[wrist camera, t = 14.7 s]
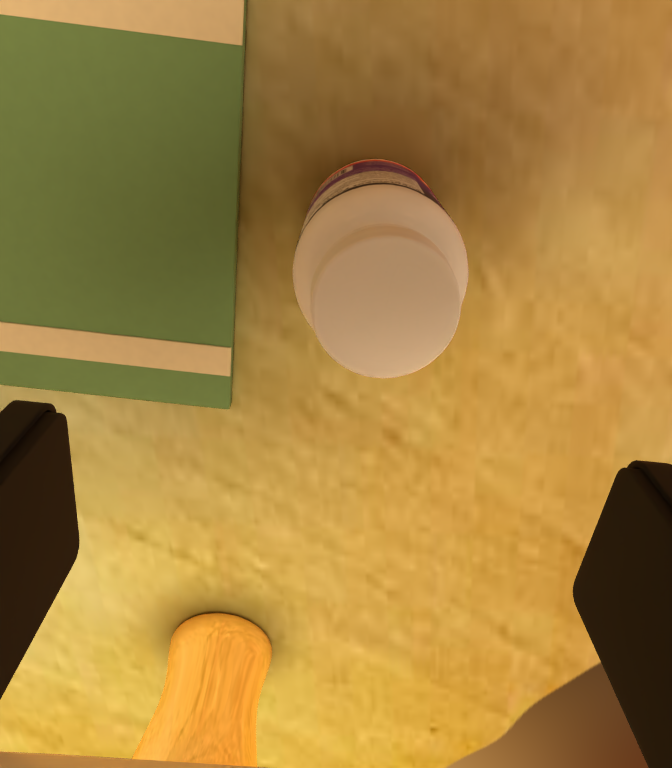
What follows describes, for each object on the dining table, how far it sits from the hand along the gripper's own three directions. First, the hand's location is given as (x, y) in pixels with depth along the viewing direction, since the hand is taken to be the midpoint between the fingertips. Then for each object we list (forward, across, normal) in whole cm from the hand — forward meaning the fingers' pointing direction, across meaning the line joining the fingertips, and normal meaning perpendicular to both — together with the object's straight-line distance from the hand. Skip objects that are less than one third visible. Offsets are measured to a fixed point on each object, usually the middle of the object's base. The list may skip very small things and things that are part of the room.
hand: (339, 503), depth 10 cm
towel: (+17, +12, -1) cm, 21 cm away
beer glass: (+17, +4, +25) cm, 30 cm away
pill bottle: (+17, -1, -1) cm, 17 cm away
